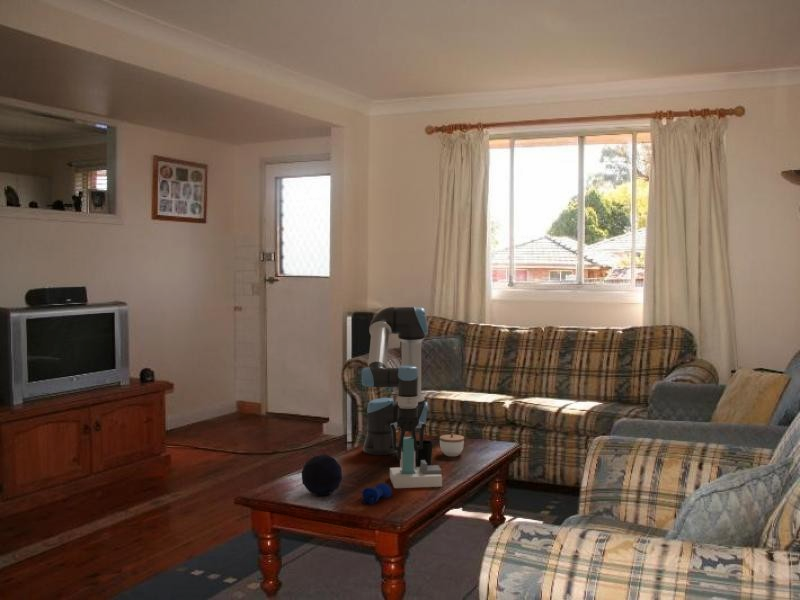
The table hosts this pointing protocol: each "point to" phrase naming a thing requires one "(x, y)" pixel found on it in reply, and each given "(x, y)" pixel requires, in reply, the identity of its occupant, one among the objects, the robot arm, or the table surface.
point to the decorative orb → (321, 475)
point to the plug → (408, 455)
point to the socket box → (414, 479)
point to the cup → (424, 453)
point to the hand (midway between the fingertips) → (407, 467)
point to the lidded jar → (451, 444)
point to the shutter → (429, 468)
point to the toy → (376, 493)
